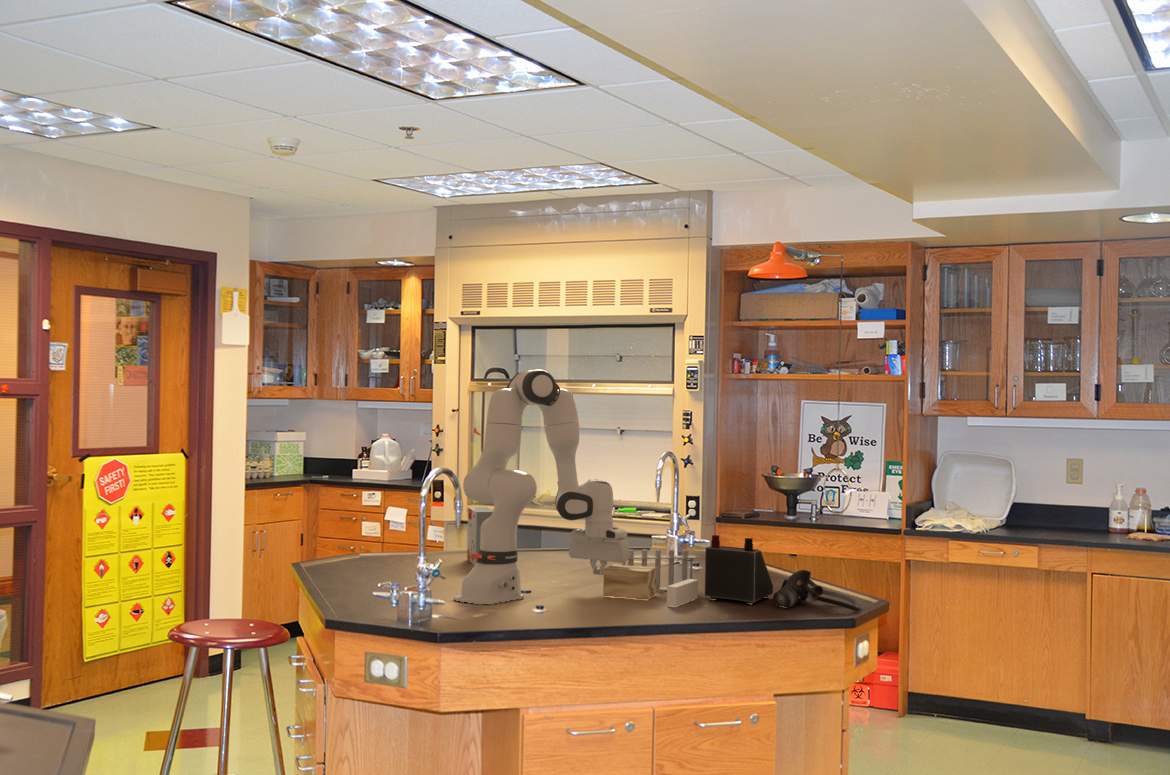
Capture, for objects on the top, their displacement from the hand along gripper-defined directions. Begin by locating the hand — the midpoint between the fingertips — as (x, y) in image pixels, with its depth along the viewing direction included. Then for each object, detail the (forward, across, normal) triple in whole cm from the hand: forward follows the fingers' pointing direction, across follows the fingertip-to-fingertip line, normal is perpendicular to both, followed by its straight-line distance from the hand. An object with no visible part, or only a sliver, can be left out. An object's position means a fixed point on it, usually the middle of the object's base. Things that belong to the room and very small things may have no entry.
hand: (598, 574), depth 326 cm
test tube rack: (+6, +14, +14) cm, 21 cm away
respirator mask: (+6, +65, +18) cm, 68 cm away
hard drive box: (+6, -64, +27) cm, 70 cm away
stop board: (+6, +29, 0) cm, 30 cm away
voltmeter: (+6, +42, +16) cm, 45 cm away
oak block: (+6, +11, 0) cm, 13 cm away
